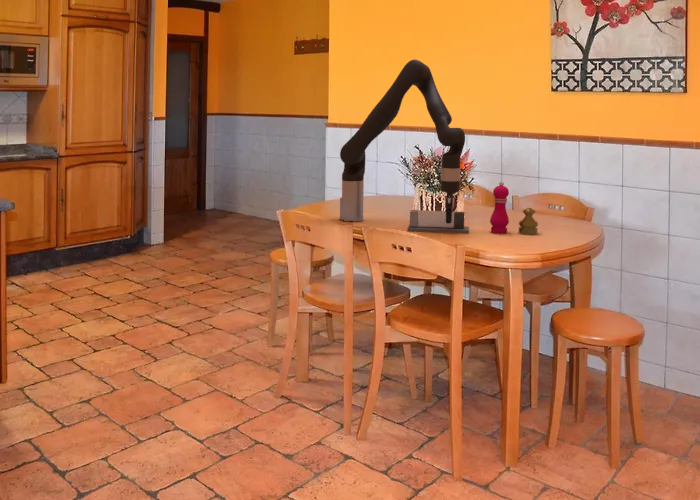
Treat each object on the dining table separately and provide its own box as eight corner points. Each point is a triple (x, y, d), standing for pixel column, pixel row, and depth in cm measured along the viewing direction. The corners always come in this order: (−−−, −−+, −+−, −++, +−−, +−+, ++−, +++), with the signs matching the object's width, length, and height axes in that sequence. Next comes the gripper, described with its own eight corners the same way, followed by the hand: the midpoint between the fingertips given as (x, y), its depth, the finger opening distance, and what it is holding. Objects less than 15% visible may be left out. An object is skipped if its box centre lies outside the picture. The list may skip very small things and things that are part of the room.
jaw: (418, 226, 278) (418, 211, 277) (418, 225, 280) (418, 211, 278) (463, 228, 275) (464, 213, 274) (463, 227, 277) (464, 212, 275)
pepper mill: (499, 234, 271) (502, 183, 267) (485, 231, 277) (488, 181, 272) (512, 232, 275) (514, 182, 271) (498, 229, 281) (500, 180, 277)
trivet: (407, 231, 276) (407, 228, 276) (409, 227, 285) (409, 224, 285) (468, 233, 273) (468, 230, 272) (468, 229, 281) (469, 226, 281)
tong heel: (409, 226, 278) (410, 211, 277) (410, 224, 283) (411, 209, 281) (417, 226, 278) (417, 211, 276) (418, 224, 282) (418, 210, 281)
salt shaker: (535, 231, 278) (537, 206, 276) (538, 235, 270) (540, 209, 268) (516, 231, 278) (518, 206, 276) (519, 234, 271) (521, 209, 269)
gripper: (459, 181, 266) (458, 225, 270) (460, 177, 280) (458, 219, 284) (439, 181, 268) (438, 224, 271) (441, 177, 281) (440, 218, 285)
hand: (448, 221), depth 277 cm, fingers open, 5 cm apart
